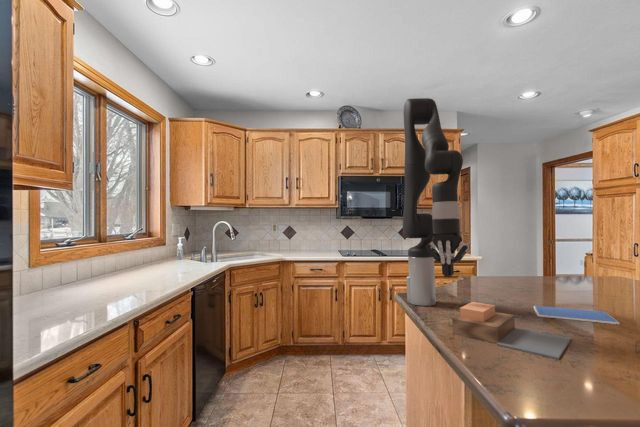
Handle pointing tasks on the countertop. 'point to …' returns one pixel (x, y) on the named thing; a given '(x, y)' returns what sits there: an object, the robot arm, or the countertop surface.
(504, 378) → the countertop surface
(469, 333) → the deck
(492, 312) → the orange rectangular block
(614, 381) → the countertop surface
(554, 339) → the mat
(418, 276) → the robot arm
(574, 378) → the countertop surface
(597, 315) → the tablet computer
